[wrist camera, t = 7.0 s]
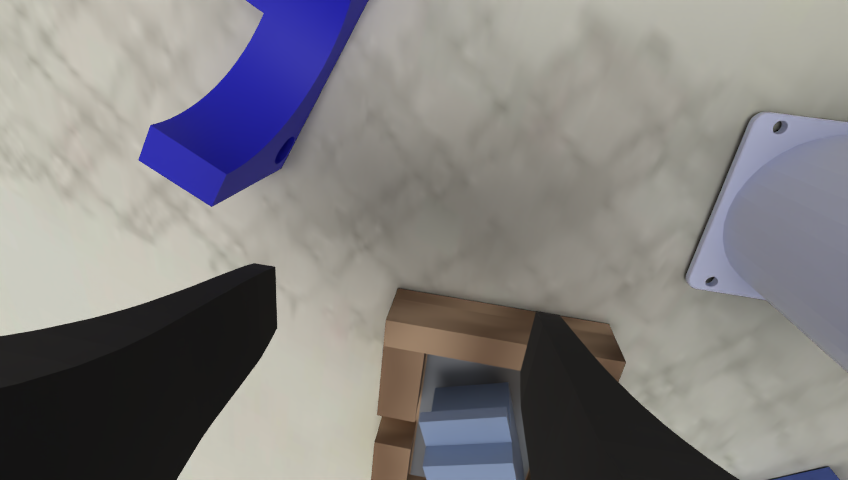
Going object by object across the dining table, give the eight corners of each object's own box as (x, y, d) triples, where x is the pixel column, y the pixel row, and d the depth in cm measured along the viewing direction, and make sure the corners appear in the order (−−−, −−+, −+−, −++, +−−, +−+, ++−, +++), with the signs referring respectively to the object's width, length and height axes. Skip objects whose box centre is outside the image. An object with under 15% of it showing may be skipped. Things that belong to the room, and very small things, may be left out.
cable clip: (312, -162, 16) (221, -271, 11) (413, -84, 17) (374, -152, 11) (202, 114, 21) (100, 135, 15) (282, 167, 21) (211, 207, 16)
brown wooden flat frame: (609, 324, 22) (626, 362, 19) (546, 504, 28) (552, 553, 25) (398, 288, 23) (385, 319, 20) (379, 470, 29) (368, 513, 26)
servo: (503, 359, 23) (508, 453, 17) (526, 481, 26) (536, 591, 21) (429, 366, 23) (412, 457, 18) (460, 483, 27) (453, 590, 21)
